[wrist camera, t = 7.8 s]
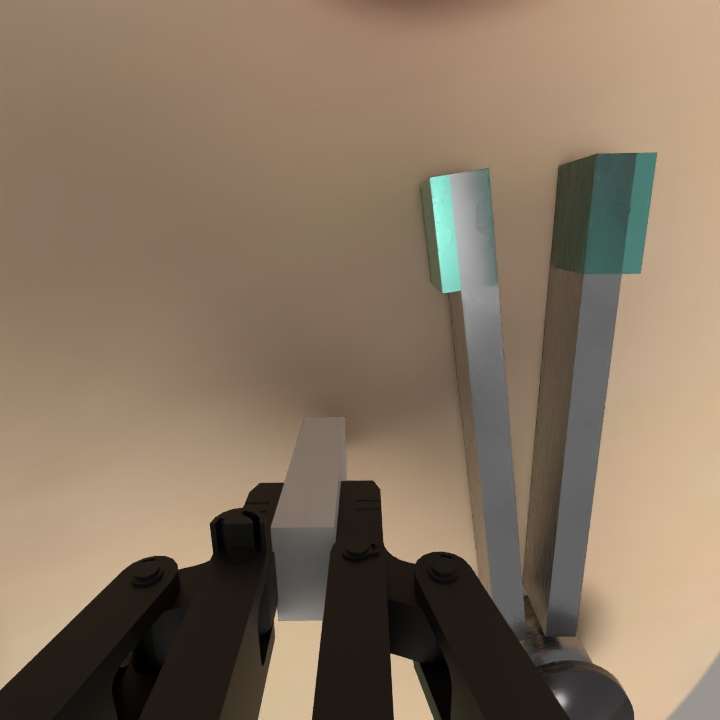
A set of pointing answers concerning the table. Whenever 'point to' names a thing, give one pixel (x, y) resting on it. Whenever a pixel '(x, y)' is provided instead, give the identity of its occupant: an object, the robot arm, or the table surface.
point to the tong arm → (479, 373)
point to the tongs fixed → (578, 414)
